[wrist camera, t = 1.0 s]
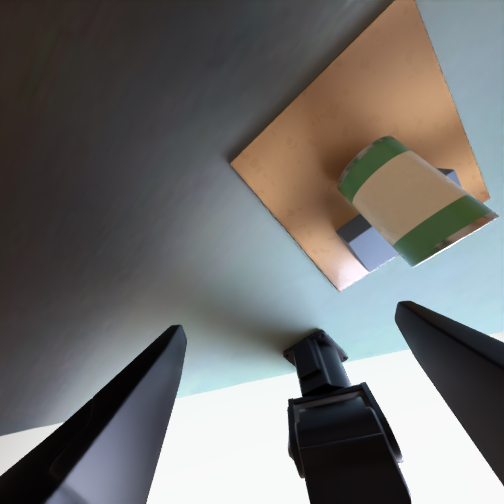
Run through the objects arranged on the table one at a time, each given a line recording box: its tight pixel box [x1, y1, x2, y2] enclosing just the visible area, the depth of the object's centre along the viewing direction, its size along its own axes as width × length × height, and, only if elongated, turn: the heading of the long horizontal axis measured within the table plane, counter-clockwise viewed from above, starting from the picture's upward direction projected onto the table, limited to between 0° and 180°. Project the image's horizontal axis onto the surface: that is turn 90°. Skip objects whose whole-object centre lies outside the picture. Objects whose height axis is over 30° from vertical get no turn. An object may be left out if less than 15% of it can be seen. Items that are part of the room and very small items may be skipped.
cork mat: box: [230, 0, 490, 292], centre depth 19 cm, size 18×16×1 cm
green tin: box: [337, 135, 499, 268], centre depth 15 cm, size 9×5×9 cm, turn 41°
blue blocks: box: [336, 168, 462, 272], centre depth 19 cm, size 4×9×3 cm, turn 131°
